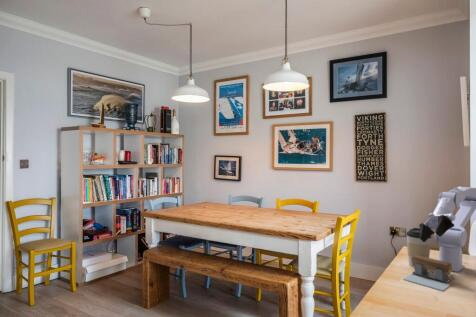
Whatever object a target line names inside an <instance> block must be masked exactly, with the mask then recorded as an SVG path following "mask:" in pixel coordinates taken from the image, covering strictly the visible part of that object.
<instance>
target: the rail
mask: <svg viewBox="0 0 476 317" xmlns="http://www.w3.org/2000/svg"><path fill="white" fill-rule="evenodd" d="M415 263H418V264H422V265H423V266H422V268H424V269H428V271H430V272H435V268H438V269H442V270H443V274H447V275H448V276H449V274H451V273H453V271H452V267H453V265H451V263H448V262H444V261H439V259H436V258H435V259H434V258H430V257H429V258H426V257H422V256H418V255H416V256H414V257H412V264H413V266H415Z"/></svg>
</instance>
